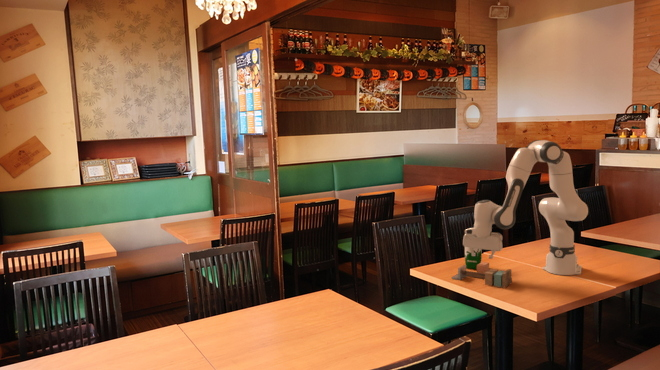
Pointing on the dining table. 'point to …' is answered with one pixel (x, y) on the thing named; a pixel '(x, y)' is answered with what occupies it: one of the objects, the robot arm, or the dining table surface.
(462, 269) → the bookend
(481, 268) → the salmon pink block
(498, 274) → the teal rectangular block
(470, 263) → the milk carton
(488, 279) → the brown block
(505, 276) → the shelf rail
